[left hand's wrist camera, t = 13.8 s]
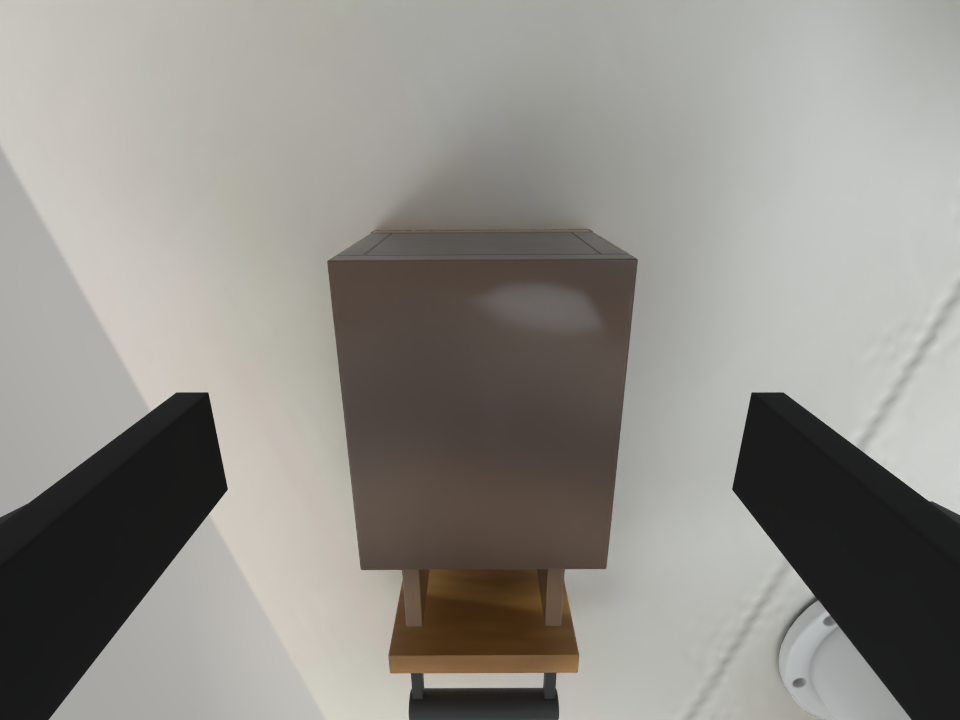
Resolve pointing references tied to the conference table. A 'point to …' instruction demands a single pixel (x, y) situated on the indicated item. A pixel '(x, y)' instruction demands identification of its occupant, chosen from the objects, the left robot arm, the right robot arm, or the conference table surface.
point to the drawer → (483, 640)
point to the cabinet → (482, 395)
